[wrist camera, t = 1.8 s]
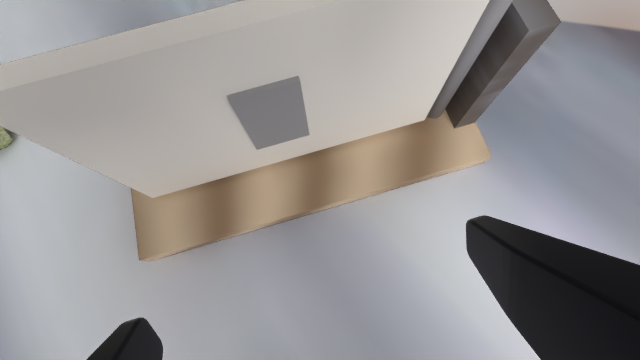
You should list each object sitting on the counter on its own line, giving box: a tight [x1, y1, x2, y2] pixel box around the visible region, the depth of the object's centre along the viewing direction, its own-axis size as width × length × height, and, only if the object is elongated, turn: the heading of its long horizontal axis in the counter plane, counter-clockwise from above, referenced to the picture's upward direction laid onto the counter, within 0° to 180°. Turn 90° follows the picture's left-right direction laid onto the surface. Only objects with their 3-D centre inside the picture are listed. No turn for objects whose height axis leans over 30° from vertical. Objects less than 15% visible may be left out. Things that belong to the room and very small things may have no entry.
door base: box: [131, 0, 561, 261], centre depth 18 cm, size 23×8×10 cm, turn 106°
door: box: [0, 0, 513, 198], centre depth 16 cm, size 20×1×11 cm, turn 106°
